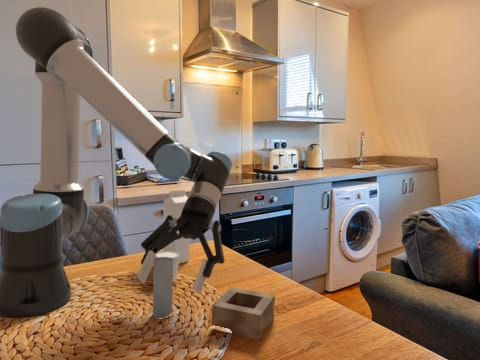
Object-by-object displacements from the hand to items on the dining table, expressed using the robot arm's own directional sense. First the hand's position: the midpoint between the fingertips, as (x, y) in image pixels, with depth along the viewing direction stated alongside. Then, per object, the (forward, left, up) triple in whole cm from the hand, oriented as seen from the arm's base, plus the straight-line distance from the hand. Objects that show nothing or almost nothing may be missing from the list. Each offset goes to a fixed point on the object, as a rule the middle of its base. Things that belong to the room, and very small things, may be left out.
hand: (167, 285), depth 76 cm
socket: (+16, +4, -6) cm, 18 cm away
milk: (-17, +32, -7) cm, 36 cm away
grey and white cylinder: (-11, +17, -7) cm, 21 cm away
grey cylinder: (-1, 0, -7) cm, 7 cm away
